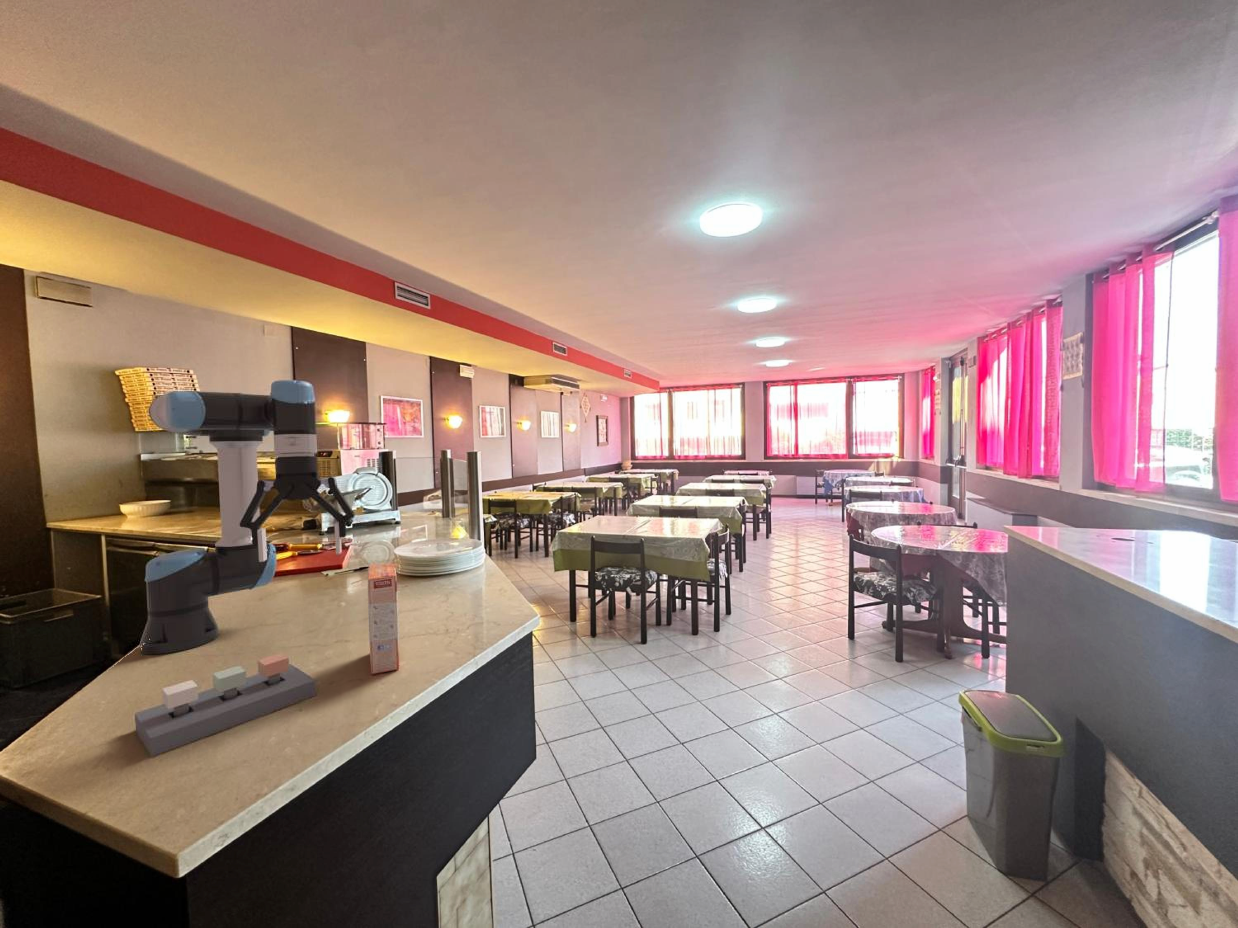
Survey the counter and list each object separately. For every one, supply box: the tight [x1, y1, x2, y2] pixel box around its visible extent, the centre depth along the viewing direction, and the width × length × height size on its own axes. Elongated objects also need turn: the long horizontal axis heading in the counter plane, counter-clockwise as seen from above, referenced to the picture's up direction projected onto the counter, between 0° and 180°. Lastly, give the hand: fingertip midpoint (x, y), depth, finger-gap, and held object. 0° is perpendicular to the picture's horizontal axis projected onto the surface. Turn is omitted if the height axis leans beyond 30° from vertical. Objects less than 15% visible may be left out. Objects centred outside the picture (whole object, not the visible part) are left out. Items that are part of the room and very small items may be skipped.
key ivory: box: [161, 679, 199, 718], centre depth 87 cm, size 4×4×5 cm
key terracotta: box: [257, 652, 290, 686], centre depth 98 cm, size 4×4×5 cm
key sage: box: [212, 665, 247, 701], centre depth 92 cm, size 4×4×5 cm
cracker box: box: [367, 563, 400, 675], centre depth 113 cm, size 14×6×21 cm, turn 26°
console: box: [134, 663, 317, 757], centre depth 93 cm, size 13×24×3 cm, turn 142°
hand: (301, 556), depth 104 cm, fingers open, 13 cm apart
